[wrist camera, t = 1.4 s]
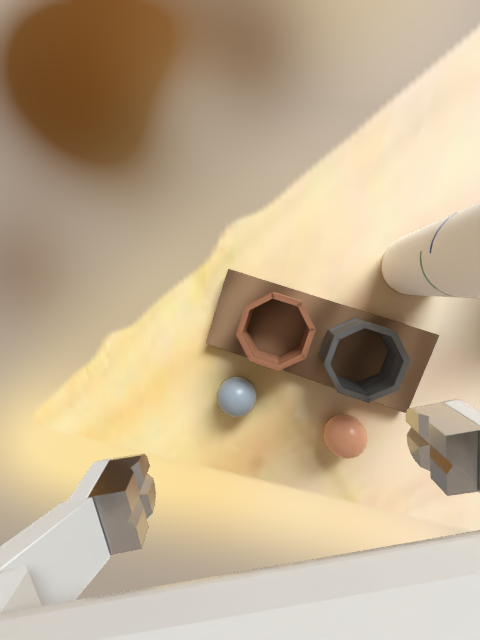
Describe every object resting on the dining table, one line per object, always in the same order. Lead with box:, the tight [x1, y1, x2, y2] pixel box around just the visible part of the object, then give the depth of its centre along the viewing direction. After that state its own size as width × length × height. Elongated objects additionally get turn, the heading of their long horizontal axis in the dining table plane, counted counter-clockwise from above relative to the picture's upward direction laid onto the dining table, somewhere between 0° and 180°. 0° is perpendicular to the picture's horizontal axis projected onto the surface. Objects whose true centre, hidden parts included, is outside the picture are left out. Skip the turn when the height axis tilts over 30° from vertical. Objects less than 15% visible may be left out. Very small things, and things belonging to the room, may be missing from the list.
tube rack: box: [206, 269, 439, 413], centre depth 35 cm, size 26×10×6 cm, turn 71°
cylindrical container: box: [382, 202, 480, 298], centre depth 24 cm, size 7×7×25 cm
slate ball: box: [217, 377, 256, 417], centre depth 38 cm, size 5×5×5 cm
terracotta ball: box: [324, 415, 367, 459], centre depth 37 cm, size 5×5×5 cm
